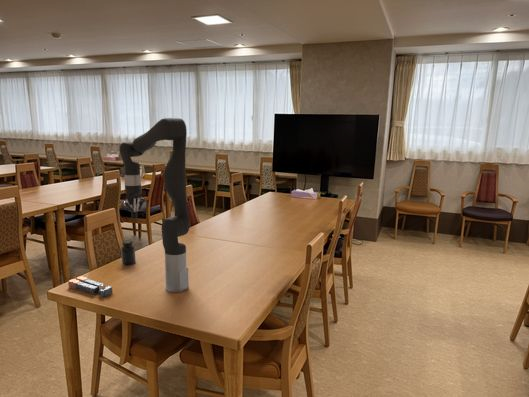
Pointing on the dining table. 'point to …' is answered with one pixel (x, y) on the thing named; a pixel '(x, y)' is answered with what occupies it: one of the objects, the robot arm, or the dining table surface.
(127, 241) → the supplement bottle
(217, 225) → the dining table surface
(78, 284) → the tongs fixed
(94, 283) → the tong arm
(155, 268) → the dining table surface
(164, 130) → the robot arm
